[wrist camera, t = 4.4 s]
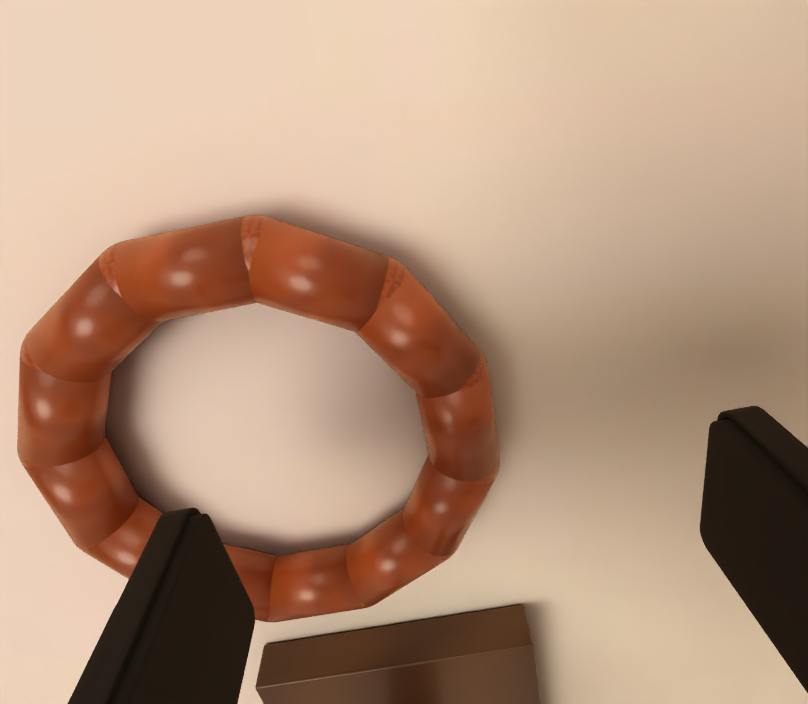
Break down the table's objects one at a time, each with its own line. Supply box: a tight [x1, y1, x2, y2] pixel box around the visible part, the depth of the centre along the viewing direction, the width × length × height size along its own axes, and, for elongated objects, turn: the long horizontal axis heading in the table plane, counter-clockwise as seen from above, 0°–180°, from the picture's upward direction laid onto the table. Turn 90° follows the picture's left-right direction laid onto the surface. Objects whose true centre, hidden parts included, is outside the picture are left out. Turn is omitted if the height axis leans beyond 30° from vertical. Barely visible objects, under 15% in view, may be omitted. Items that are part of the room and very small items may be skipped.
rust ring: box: [17, 215, 500, 622], centre depth 14 cm, size 12×12×2 cm
